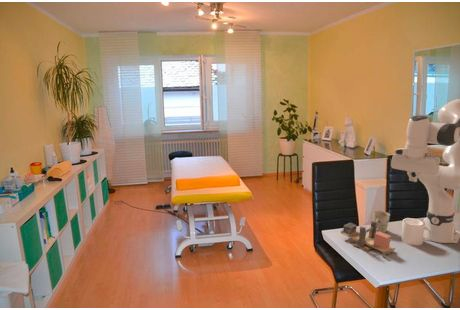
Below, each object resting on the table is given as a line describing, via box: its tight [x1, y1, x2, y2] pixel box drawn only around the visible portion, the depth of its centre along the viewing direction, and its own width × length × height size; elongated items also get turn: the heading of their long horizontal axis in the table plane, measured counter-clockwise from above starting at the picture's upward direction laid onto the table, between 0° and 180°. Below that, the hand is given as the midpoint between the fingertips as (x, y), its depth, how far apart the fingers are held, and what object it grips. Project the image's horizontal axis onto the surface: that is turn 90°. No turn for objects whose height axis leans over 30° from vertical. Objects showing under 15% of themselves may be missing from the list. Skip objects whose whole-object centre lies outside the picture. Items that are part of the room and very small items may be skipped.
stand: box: [352, 220, 387, 258], centre depth 176 cm, size 16×13×11 cm
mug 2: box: [400, 217, 431, 246], centre depth 182 cm, size 14×10×11 cm
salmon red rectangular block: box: [374, 231, 391, 249], centre depth 173 cm, size 6×4×6 cm, turn 40°
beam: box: [340, 222, 396, 255], centre depth 179 cm, size 26×9×7 cm, turn 39°
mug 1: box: [373, 210, 391, 233], centre depth 194 cm, size 8×13×10 cm, turn 140°
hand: (412, 181), depth 161 cm, fingers closed
